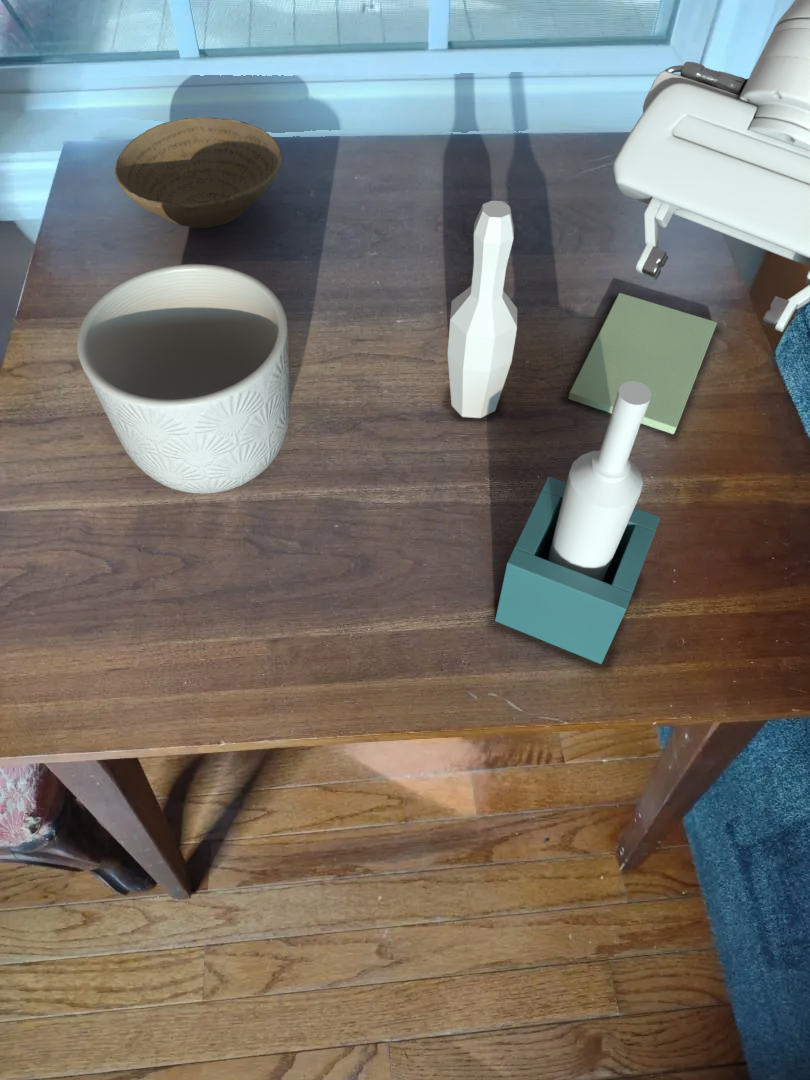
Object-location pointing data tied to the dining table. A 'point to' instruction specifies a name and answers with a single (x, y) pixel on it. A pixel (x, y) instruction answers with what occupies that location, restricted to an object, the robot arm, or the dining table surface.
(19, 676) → the dining table surface
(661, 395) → the mat
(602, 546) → the bottle
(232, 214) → the bowl
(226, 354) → the planter
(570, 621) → the holster
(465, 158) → the dining table surface
